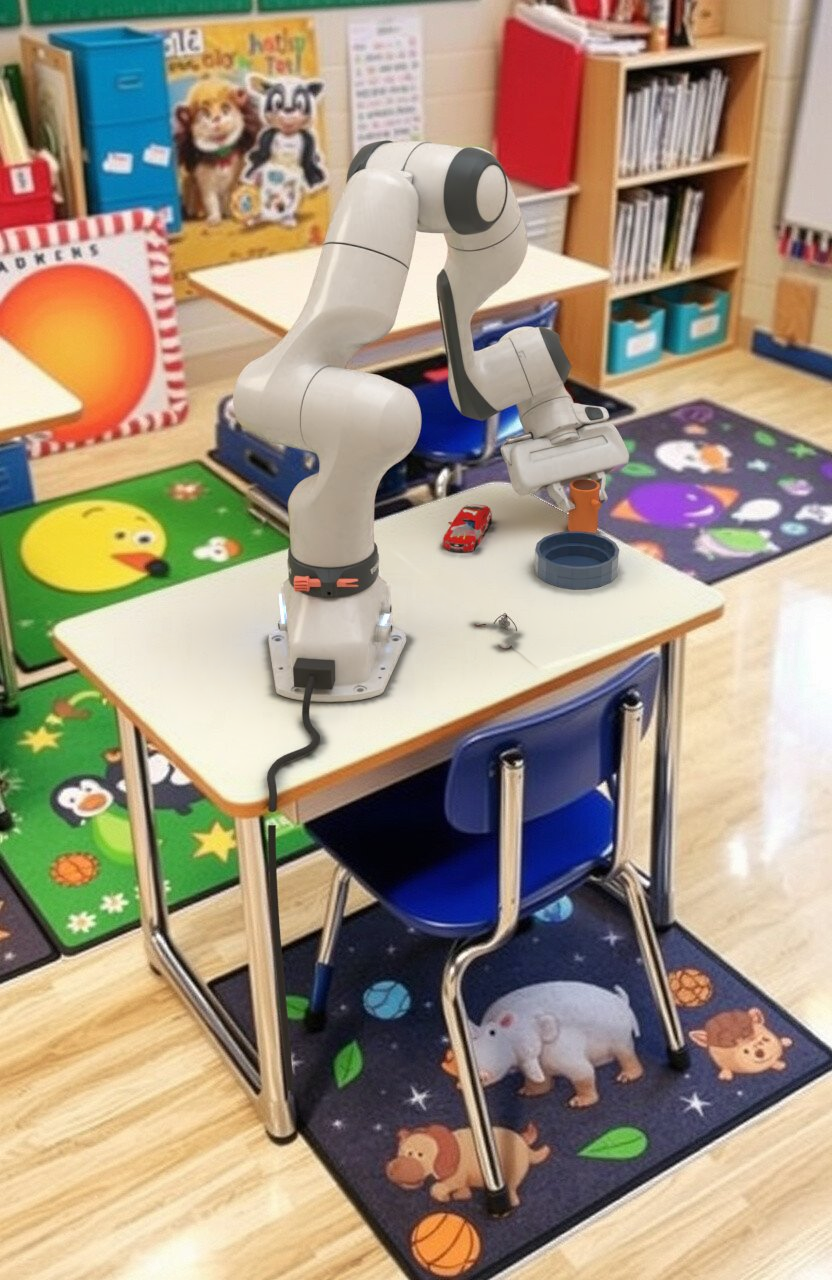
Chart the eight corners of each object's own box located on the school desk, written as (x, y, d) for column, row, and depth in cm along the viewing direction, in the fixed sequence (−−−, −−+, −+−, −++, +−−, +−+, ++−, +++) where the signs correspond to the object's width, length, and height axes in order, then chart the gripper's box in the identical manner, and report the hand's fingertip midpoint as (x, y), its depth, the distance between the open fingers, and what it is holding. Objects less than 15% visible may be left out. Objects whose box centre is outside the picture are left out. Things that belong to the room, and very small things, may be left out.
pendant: (528, 641, 190) (529, 624, 189) (503, 651, 188) (503, 634, 187) (492, 618, 196) (492, 601, 194) (467, 627, 194) (467, 610, 192)
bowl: (622, 592, 202) (623, 568, 200) (536, 593, 202) (537, 568, 200) (614, 554, 212) (615, 530, 210) (532, 554, 213) (533, 531, 210)
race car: (472, 558, 212) (472, 535, 210) (438, 553, 213) (438, 530, 211) (497, 522, 222) (497, 499, 220) (464, 518, 224) (464, 495, 222)
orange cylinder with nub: (562, 529, 220) (564, 482, 216) (586, 523, 222) (588, 476, 218) (584, 544, 215) (586, 496, 211) (608, 537, 217) (611, 490, 213)
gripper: (504, 431, 212) (538, 513, 209) (614, 406, 220) (648, 484, 218) (489, 449, 217) (521, 529, 215) (596, 423, 226) (629, 500, 223)
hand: (586, 506), depth 216 cm, fingers closed on orange cylinder with nub, 5 cm apart
